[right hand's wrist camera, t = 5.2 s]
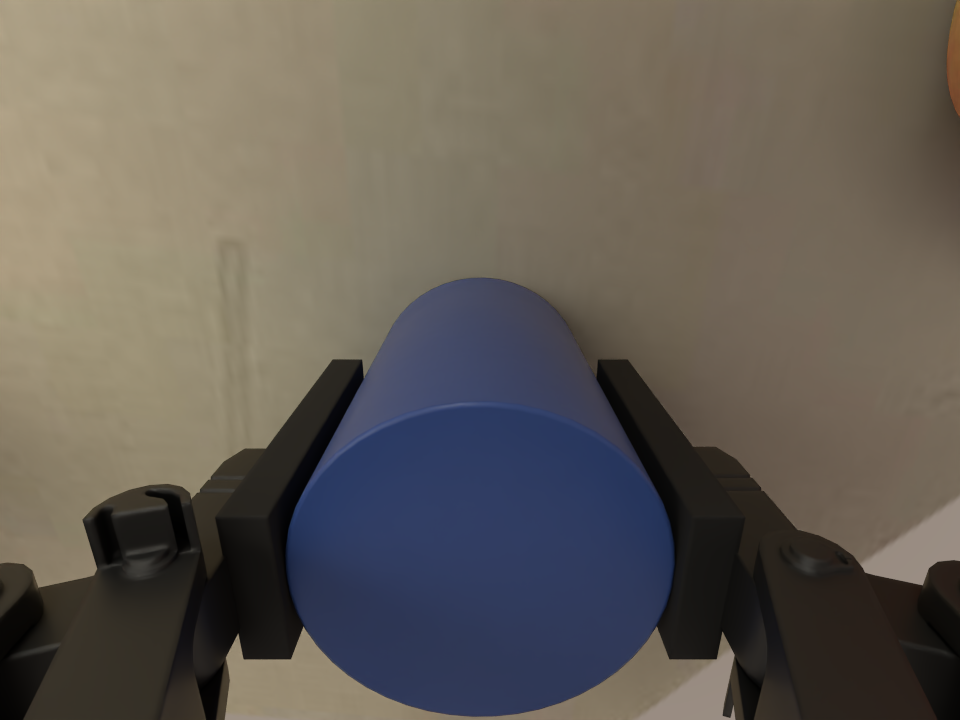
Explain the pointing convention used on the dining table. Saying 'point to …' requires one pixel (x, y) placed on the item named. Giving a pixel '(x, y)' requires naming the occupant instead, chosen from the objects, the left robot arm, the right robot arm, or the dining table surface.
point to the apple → (954, 59)
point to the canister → (480, 516)
